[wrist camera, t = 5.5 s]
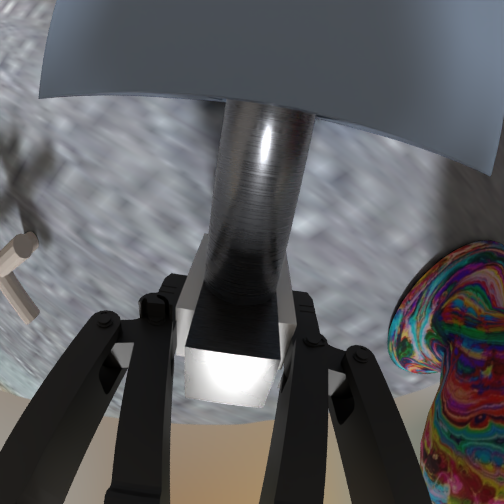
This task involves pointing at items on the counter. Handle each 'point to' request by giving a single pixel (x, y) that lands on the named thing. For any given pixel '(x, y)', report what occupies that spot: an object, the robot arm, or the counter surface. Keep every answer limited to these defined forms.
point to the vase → (459, 371)
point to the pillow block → (300, 62)
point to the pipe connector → (4, 278)
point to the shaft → (246, 254)
